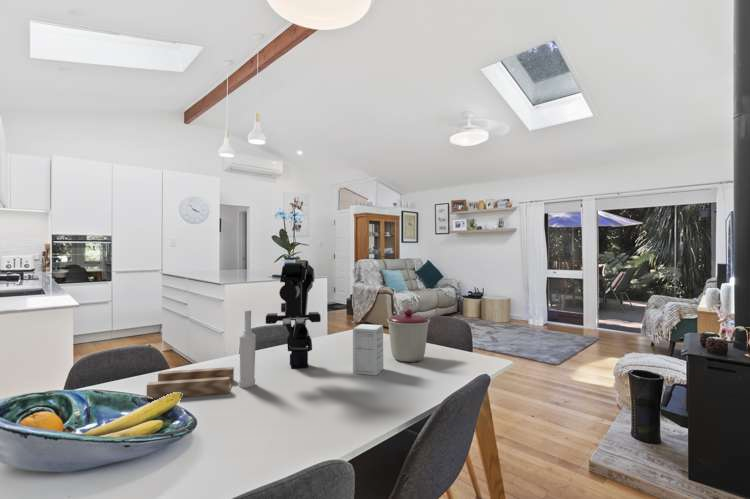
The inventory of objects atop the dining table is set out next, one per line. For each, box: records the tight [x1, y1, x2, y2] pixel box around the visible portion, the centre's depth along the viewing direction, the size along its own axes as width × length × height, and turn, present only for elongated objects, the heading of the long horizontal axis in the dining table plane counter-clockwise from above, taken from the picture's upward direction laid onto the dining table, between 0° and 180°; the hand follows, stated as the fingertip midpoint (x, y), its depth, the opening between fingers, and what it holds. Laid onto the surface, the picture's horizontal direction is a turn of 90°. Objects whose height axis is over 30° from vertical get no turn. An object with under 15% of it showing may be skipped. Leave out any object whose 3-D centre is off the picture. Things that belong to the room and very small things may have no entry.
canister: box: [386, 308, 431, 363], centre depth 157 cm, size 18×18×21 cm
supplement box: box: [352, 323, 384, 376], centre depth 141 cm, size 10×9×17 cm
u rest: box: [146, 366, 235, 401], centre depth 120 cm, size 23×13×4 cm, turn 104°
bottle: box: [238, 309, 257, 389], centre depth 124 cm, size 5×5×25 cm
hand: (293, 342), depth 131 cm, fingers closed
